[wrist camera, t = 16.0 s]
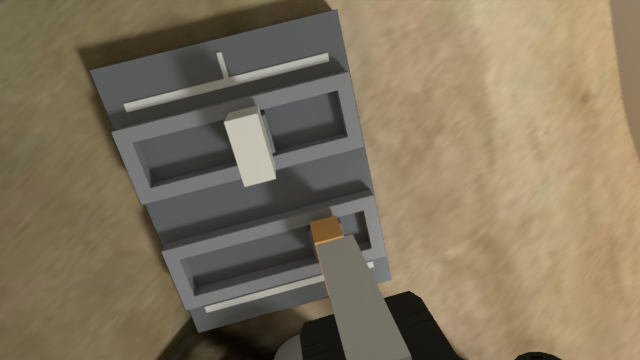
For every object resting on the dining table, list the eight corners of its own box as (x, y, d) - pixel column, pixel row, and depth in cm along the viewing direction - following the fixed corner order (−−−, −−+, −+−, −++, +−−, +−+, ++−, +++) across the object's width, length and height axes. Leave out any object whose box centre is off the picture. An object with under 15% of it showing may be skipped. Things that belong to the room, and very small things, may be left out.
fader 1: (244, 165, 36) (240, 188, 30) (227, 109, 34) (219, 123, 29) (278, 156, 36) (280, 177, 30) (262, 100, 34) (261, 112, 29)
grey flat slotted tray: (201, 319, 43) (196, 343, 40) (99, 68, 34) (81, 71, 31) (386, 269, 44) (396, 288, 40) (333, 11, 35) (340, 7, 31)
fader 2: (316, 260, 40) (324, 295, 34) (304, 214, 38) (310, 244, 33) (346, 252, 40) (359, 286, 34) (335, 206, 38) (347, 234, 33)
